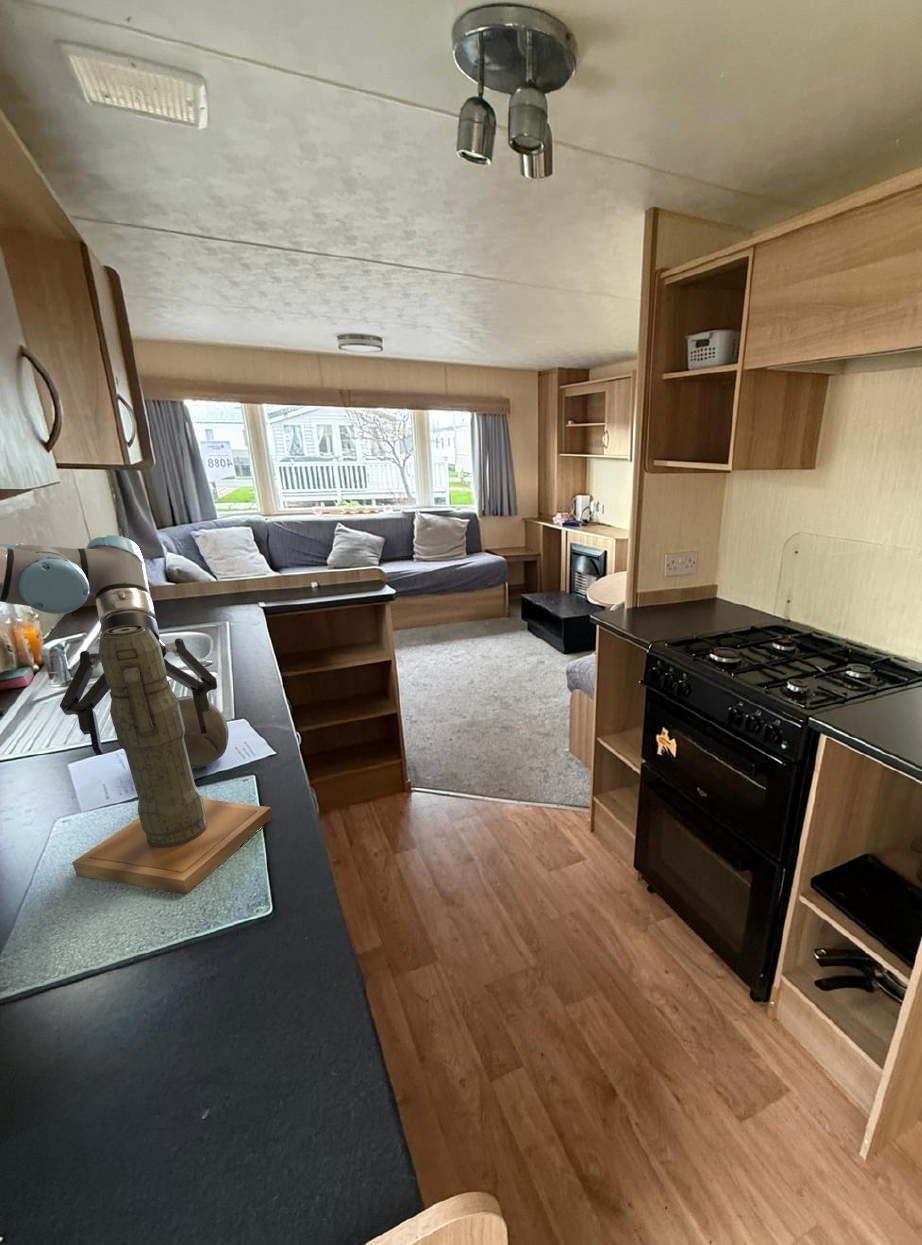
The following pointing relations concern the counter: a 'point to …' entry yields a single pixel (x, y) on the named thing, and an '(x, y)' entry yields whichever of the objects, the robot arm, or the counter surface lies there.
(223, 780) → the counter surface
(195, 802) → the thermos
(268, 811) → the oak board
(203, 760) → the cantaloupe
